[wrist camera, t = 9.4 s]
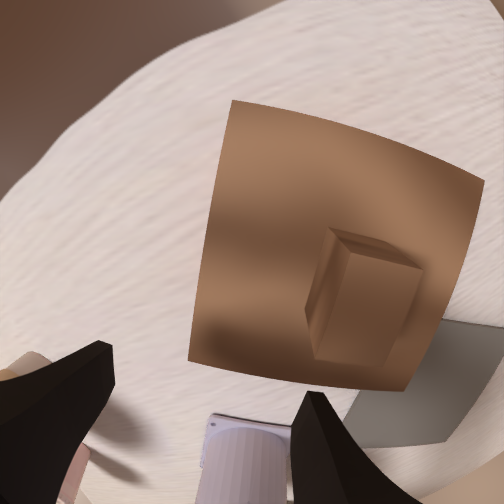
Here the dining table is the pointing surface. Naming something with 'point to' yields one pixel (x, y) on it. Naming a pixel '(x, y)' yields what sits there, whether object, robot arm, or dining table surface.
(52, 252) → the dining table surface
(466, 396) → the mat
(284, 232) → the lid
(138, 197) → the dining table surface
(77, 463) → the smoothie
